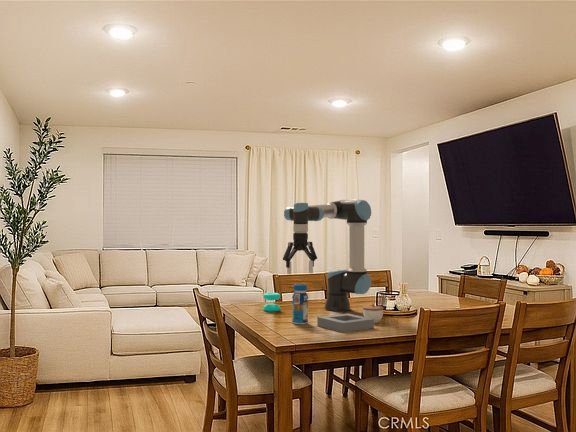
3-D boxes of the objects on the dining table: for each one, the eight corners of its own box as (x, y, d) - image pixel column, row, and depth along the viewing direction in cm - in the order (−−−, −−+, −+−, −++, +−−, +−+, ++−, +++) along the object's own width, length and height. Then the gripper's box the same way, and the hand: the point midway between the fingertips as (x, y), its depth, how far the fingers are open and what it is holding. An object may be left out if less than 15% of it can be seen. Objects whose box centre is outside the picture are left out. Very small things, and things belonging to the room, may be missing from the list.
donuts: (283, 293, 350) (269, 295, 344) (283, 311, 350) (269, 312, 344) (273, 291, 358) (259, 293, 352) (273, 308, 358) (259, 310, 352)
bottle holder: (348, 322, 316) (348, 313, 316) (374, 328, 299) (374, 319, 299) (317, 325, 304) (317, 316, 304) (342, 332, 288) (342, 323, 288)
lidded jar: (384, 320, 321) (385, 303, 321) (381, 324, 310) (381, 306, 310) (365, 319, 324) (365, 302, 324) (360, 322, 314) (360, 304, 314)
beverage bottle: (289, 322, 314) (289, 283, 314) (303, 321, 317) (304, 283, 317) (295, 325, 306) (296, 285, 306) (310, 323, 309) (311, 284, 309)
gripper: (315, 232, 322) (315, 272, 322) (276, 232, 308) (275, 274, 308) (324, 232, 315) (323, 273, 315) (284, 232, 301) (284, 275, 301)
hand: (300, 273), depth 311 cm, fingers open, 13 cm apart
